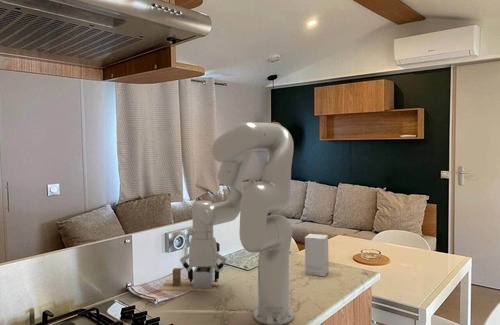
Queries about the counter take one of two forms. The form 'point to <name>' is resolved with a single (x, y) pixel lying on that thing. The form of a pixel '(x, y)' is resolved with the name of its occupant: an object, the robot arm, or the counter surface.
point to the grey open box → (203, 278)
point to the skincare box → (316, 254)
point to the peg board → (184, 283)
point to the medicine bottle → (218, 253)
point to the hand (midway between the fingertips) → (203, 280)
